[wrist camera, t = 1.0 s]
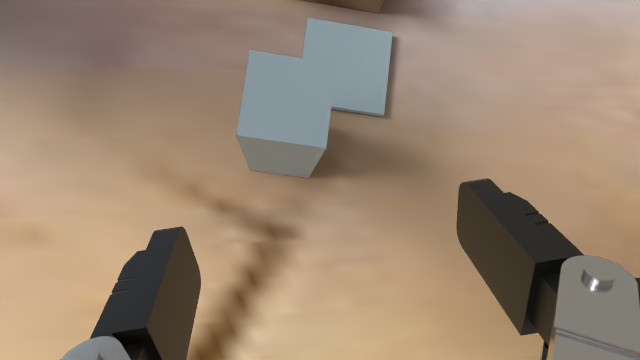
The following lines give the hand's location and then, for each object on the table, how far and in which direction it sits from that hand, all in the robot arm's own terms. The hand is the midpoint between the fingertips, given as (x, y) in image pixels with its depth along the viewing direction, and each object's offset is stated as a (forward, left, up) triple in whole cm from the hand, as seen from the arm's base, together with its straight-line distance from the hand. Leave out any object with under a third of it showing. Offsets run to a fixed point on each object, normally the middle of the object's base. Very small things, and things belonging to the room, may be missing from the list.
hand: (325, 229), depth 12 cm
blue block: (-2, +6, -19) cm, 20 cm away
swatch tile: (+2, +13, -19) cm, 23 cm away
